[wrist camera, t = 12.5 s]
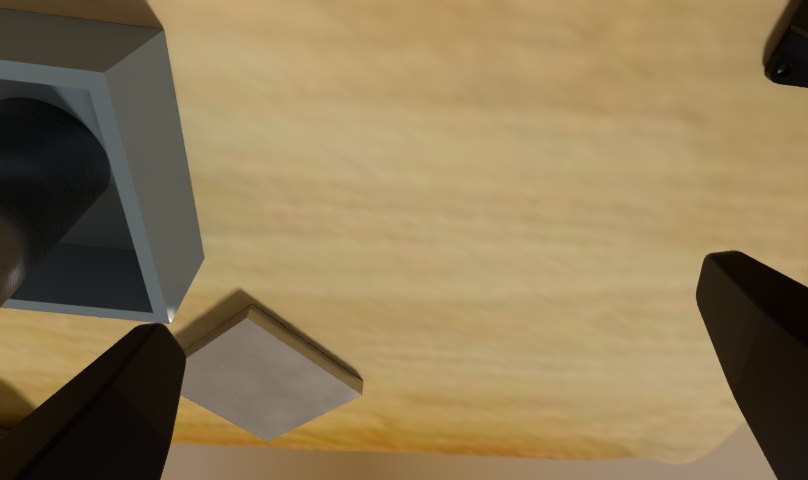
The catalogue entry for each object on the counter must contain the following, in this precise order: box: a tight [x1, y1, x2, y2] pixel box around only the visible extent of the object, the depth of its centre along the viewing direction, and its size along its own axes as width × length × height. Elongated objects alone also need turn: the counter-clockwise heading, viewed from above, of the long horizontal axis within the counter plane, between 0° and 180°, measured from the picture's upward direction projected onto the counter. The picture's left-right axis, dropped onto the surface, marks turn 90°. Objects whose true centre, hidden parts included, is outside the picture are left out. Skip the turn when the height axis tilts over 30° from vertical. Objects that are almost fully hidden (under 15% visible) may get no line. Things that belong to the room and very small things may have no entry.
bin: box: [0, 8, 204, 324], centre depth 20 cm, size 11×11×4 cm
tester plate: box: [180, 304, 363, 442], centre depth 31 cm, size 9×9×1 cm
